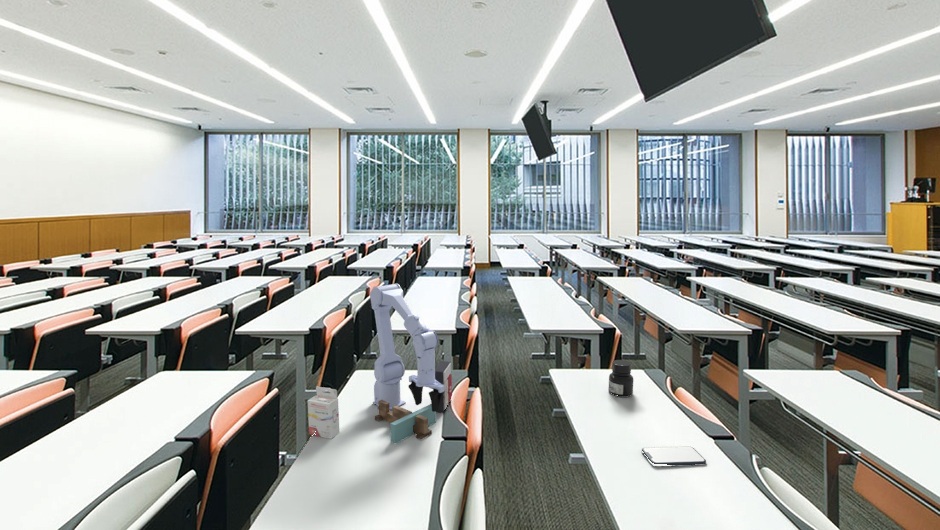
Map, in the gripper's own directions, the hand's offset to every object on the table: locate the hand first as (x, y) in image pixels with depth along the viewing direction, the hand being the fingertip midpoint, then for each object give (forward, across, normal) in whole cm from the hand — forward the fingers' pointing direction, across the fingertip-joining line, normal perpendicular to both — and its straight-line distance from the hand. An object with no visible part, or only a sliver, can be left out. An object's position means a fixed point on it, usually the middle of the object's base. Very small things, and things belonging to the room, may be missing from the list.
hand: (426, 407), depth 163 cm
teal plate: (+6, 0, -6) cm, 9 cm away
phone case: (+6, +70, +30) cm, 76 cm away
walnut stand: (+6, -5, -6) cm, 10 cm away
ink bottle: (+6, +40, +65) cm, 76 cm away
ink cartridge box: (+6, -21, -25) cm, 34 cm away
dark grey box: (+6, -5, +14) cm, 16 cm away
